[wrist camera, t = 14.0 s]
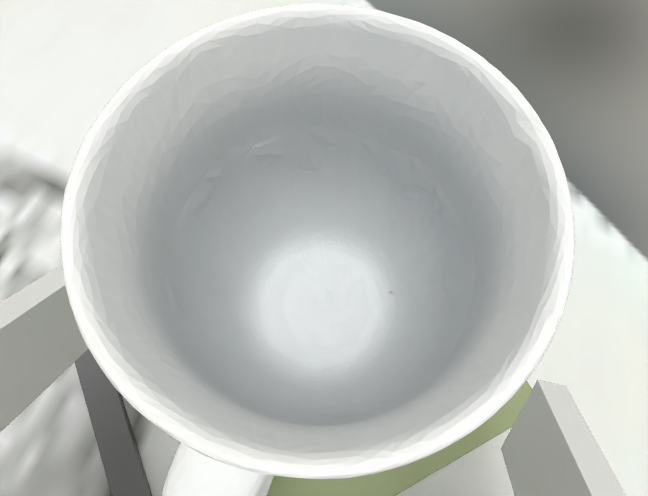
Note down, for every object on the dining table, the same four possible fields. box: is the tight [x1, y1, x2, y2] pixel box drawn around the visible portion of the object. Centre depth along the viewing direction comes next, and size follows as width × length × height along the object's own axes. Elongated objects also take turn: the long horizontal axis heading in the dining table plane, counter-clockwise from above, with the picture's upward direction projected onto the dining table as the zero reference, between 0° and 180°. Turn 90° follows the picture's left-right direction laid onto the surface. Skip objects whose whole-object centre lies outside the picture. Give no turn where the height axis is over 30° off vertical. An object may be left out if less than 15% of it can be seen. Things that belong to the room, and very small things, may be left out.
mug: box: [60, 4, 575, 496], centre depth 14 cm, size 15×11×13 cm
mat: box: [266, 380, 532, 496], centre depth 21 cm, size 16×16×1 cm
